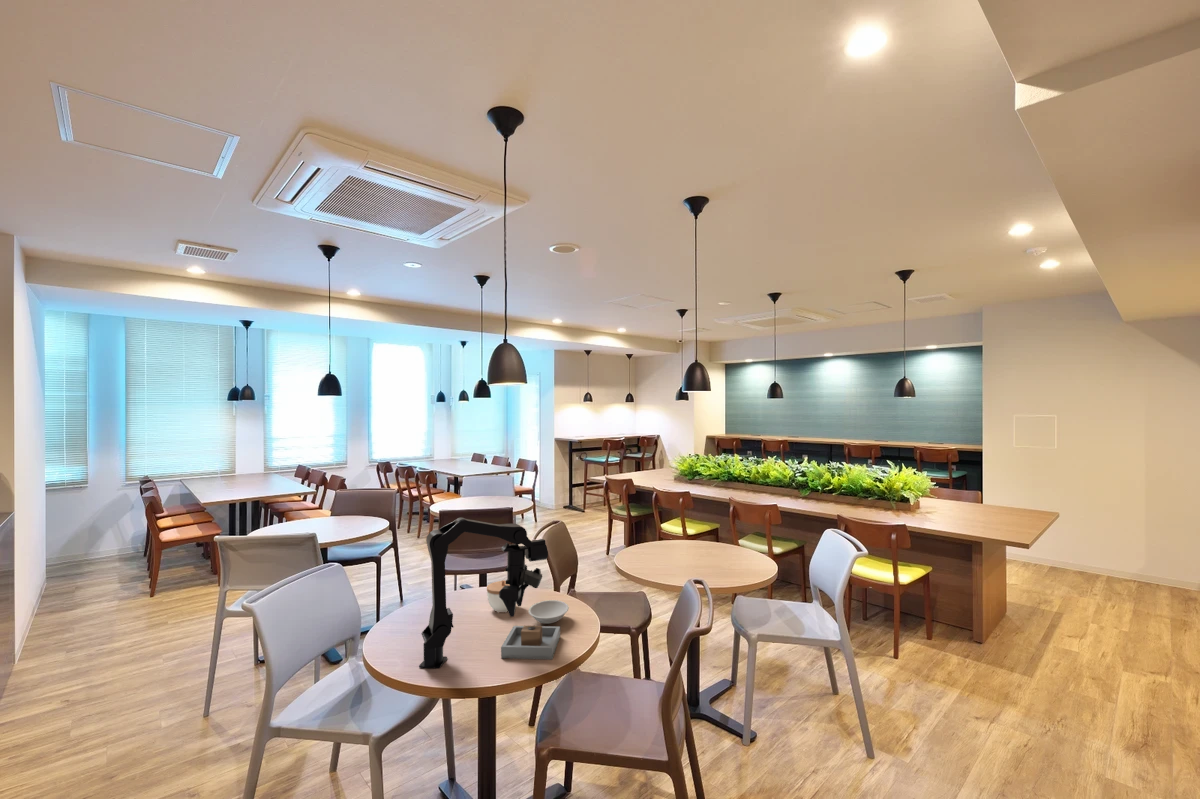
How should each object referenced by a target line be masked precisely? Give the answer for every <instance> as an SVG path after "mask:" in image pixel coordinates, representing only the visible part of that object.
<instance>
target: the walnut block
mask: <svg viewBox="0 0 1200 799" xmlns="http://www.w3.org/2000/svg"><path fill="white" fill-rule="evenodd" d="M523 626H524V627H523V629H522V630H521V646H541V643H542V626H543V625H523Z"/></svg>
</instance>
